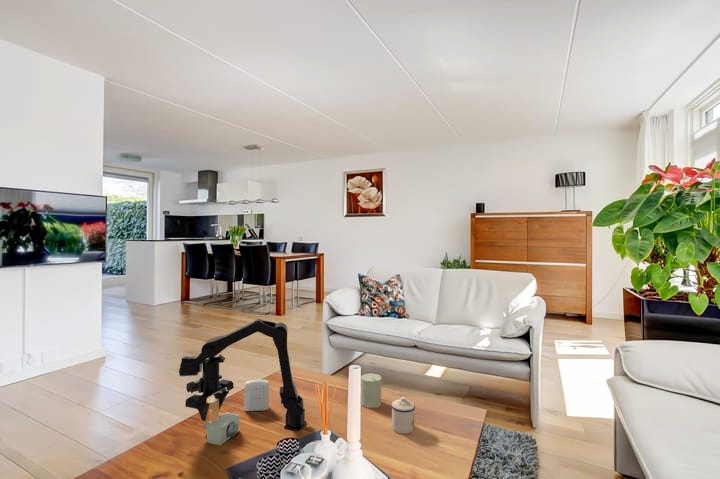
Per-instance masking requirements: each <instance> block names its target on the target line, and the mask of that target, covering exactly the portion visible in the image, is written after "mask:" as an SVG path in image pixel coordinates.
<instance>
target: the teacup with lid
mask: <svg viewBox="0 0 720 479" xmlns="http://www.w3.org/2000/svg"><path fill="white" fill-rule="evenodd" d="M415 409H416V404H415V403H414V402H413V401H411V400H409V399H407V398H406V397H405V396H401V397H400V399H399V398H398V399H395V400H393V401H392V402H391V428H392V429H393V431H394V432H396V433H398V434H403V435H404V434H410V433H412V432H414V430H415V412H416V411H415Z"/></svg>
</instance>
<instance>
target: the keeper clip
mask: <svg viewBox="0 0 720 479" xmlns="http://www.w3.org/2000/svg"><path fill="white" fill-rule="evenodd" d="M207 403H209V408H208V413H207V417H206V420H205V421H202V420H201V424H202V425H204V424H206V425H207V424H208V423H209V421H210V409H211V417H213V418H215V419H217V418H218V417H220V410H219V399H217V398H215V397H214V398H212V399H209V401H207Z"/></svg>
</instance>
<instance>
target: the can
mask: <svg viewBox="0 0 720 479" xmlns="http://www.w3.org/2000/svg"><path fill="white" fill-rule="evenodd" d="M360 382H361V383H360V385H361V384H362V387H361V386H360V405H361V406H362V407H364V408H369V409H376V408H379V407H380V406H382V376H381V375H379V374H377V373H373V372H372V373H370V372H369V373H364V374H362V375H361V376H360Z"/></svg>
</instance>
